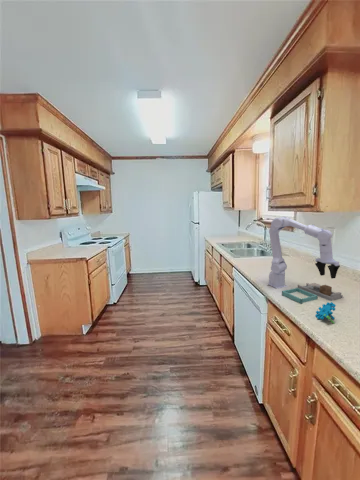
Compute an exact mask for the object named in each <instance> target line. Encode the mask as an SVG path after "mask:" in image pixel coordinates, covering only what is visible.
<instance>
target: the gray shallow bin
mask: <svg viewBox="0 0 360 480" xmlns="http://www.w3.org/2000/svg"><path fill="white" fill-rule="evenodd" d="M308 284H310V283H308V282H307V283H306V285H300V284H298V285H297V287H296V288H299V289H302V290H304V291H307V292H309V293H312V294H315V295H317V296H318V297H319V298H321V299H324V300H327V301H328V302H334V301H337V300H340V299H344V295H343V294H342V292H335V291H332V292H331V296H327V295H325V294H322V293H320V291H314V290H311V289H309V288H308Z"/></svg>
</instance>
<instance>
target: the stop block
mask: <svg viewBox="0 0 360 480" xmlns="http://www.w3.org/2000/svg"><path fill="white" fill-rule="evenodd" d="M331 292H333V290H332V286H330V285H327V284H322V285H320V293H322V294H325V295H327V296H331Z"/></svg>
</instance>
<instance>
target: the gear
mask: <svg viewBox="0 0 360 480" xmlns="http://www.w3.org/2000/svg"><path fill="white" fill-rule="evenodd" d="M336 306H337V305H336V304H335V303H334V302H333V301H328V302H326V304H325V303H323V304H322V307H321V306H319V307H318V308H317V309H318V310H316V311H315V317H316V318H317V319H318V320H324V319H325V318H326V320H327V321H329V322H331V323H332V324H335V321H334V319H335V317H334V315H333V313H334V311H336Z"/></svg>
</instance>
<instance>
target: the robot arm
mask: <svg viewBox="0 0 360 480" xmlns="http://www.w3.org/2000/svg"><path fill="white" fill-rule="evenodd" d="M270 224H271V225H270V228H269V229H268V233H269V239H270V245H271V253H272V254H271V255H272V260H271V262H270V263H271V266H270V270H271V271H270V272H269V274H268V283H267V285H269V286H271V287H272V288H275V289H281V288H287V287H289V286H288V285H285V283H286V282H285V281H286V272H285V271H286V270H287V267H288V266H287V263H286V261H285V259H284V258H283V253H282V247H281V246H282V245H281V240H280V232H281V231H282V230H283V229H284V228H286V227H293V228H295V229H297V230H301V231H303V232H304V234H306V235H307V236H311V237H312V238H315V239H317V240H318V241H319V257H317V258H315V263H314V265H315V266H316V268H317V270H318V271H319V275H320V277H321V276H326V275H325V274H326V265H327V267H328V270H329V274H330V278H331V279H336V277H337V274H338V270H339V269H340V268H341V265H340V261H336V260H335V259H334V258H333V256H334V255H333V246H332V244H333V243H332V238H333V233H332V231H331V230H329V229H324V227H318V226H315V224H308V225H307V224H304V223H301V222H299V221H297V220H296V219H295V220H294V219H292V218H290V217H286V216H281V217H275V218H274V219H272V221H271V222H270Z"/></svg>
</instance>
